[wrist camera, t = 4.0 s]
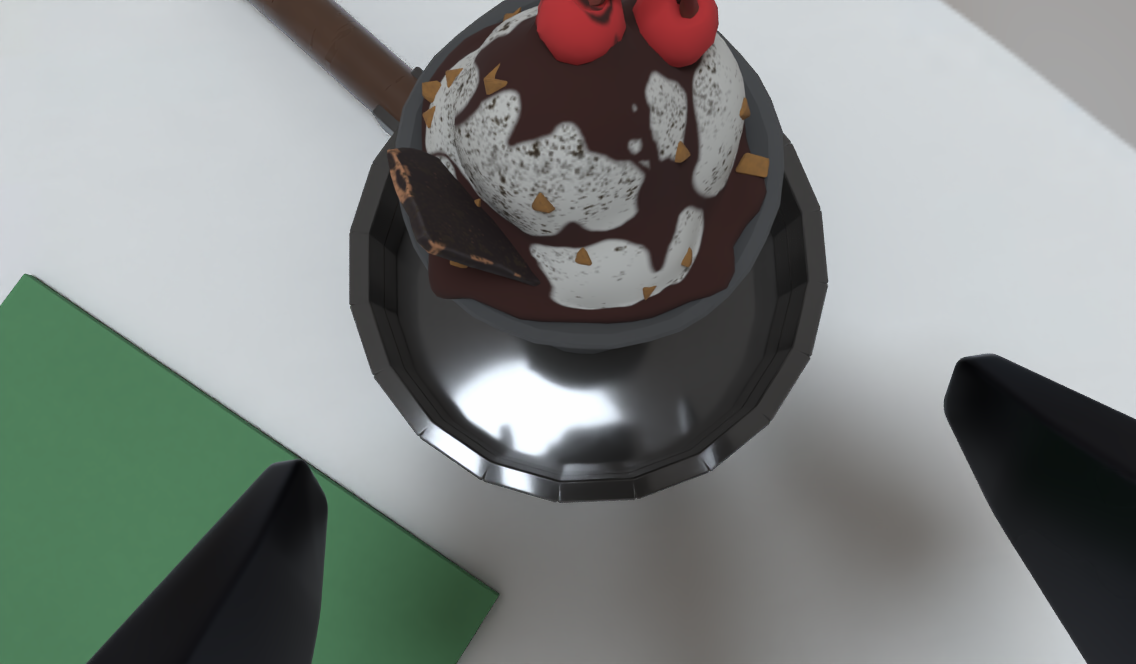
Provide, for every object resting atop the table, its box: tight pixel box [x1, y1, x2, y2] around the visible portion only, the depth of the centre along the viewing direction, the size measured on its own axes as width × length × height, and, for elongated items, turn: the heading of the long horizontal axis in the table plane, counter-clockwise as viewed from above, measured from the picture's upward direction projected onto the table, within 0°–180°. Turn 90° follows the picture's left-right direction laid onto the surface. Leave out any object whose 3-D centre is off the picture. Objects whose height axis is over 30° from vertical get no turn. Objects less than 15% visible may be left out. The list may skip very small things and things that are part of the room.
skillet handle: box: [248, 0, 423, 136], centre depth 20 cm, size 12×2×2 cm, turn 47°
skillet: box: [349, 126, 828, 503], centre depth 20 cm, size 14×14×3 cm
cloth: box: [0, 274, 499, 664], centre depth 20 cm, size 19×16×1 cm
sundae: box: [387, 0, 784, 354], centre depth 13 cm, size 7×7×15 cm
